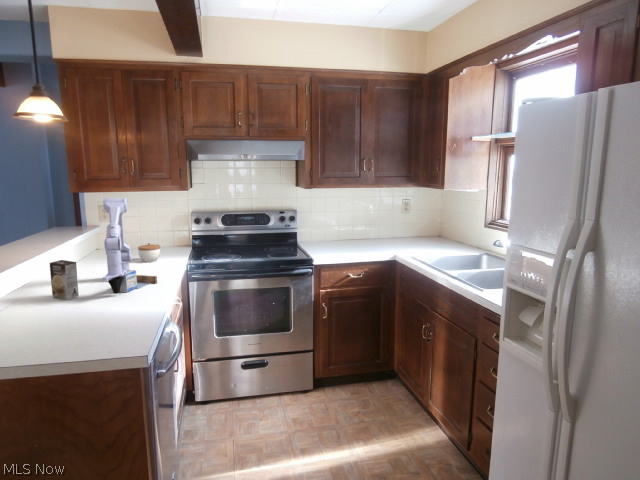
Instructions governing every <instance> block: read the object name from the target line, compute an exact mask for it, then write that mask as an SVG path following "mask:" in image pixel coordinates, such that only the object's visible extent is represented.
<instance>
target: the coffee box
mask: <svg viewBox="0 0 640 480" xmlns="http://www.w3.org/2000/svg"><path fill="white" fill-rule="evenodd" d="M49 271H50V284H51V293H52V294H51V295H52V296H51V297H52V298H53V299H58V300H65V301H70V300H72V299H76V298H78V297H80V295H79V285H78V284H79V283H78V282H79V281H78V269H77V261H71V260H64V259H60V260H57V261H51V262H49Z"/></svg>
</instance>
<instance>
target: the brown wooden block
mask: <svg viewBox="0 0 640 480" xmlns="http://www.w3.org/2000/svg"><path fill="white" fill-rule="evenodd" d="M136 277H137V282H142V283H150V284H151V285H153V284H154V285H157V284H158V276H157V275H146V274H145V275H144V274H142V275H141V274H136Z"/></svg>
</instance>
